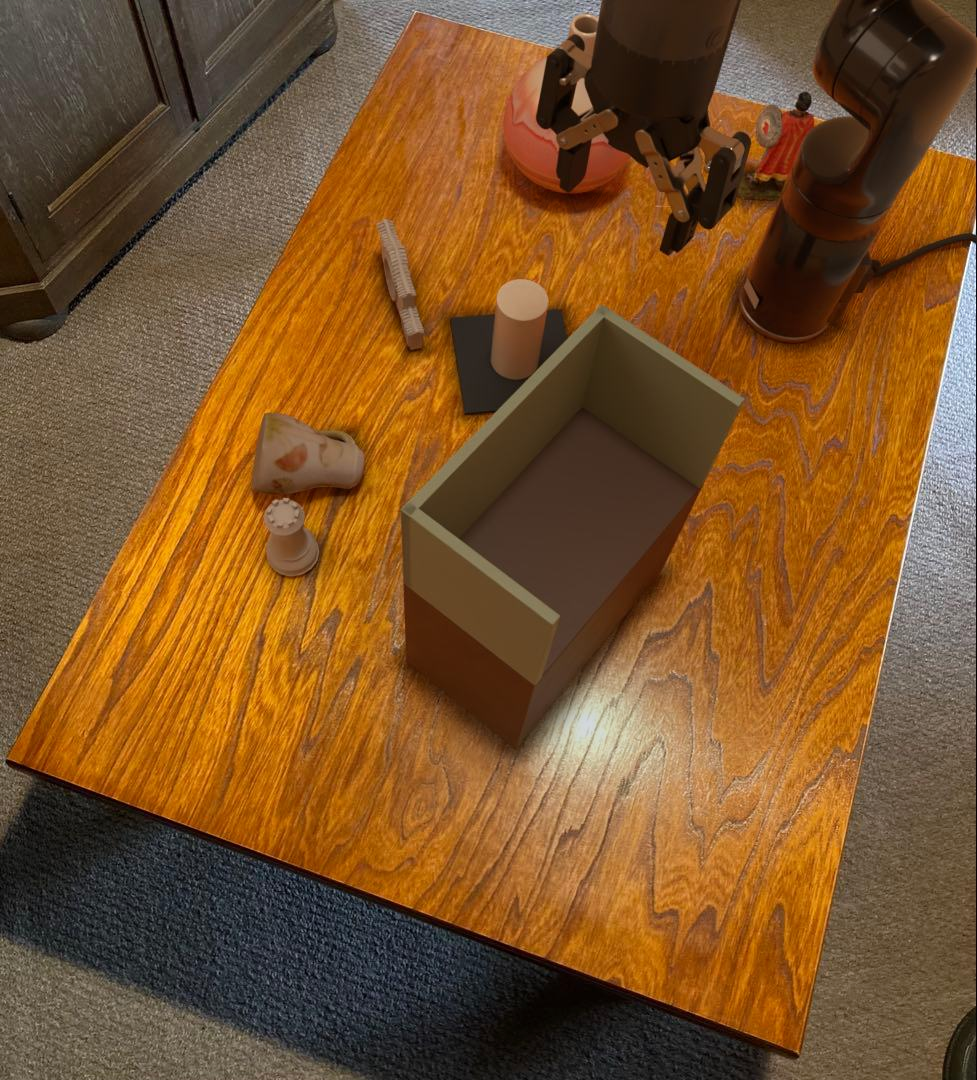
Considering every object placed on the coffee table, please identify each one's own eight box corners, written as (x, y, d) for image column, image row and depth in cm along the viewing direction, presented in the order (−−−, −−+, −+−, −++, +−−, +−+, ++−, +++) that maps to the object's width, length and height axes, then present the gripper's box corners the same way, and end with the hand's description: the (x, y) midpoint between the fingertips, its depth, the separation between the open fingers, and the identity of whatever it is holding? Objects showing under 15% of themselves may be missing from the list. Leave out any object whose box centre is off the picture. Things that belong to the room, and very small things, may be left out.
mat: (561, 311, 106) (561, 308, 105) (580, 405, 101) (581, 402, 101) (449, 319, 104) (450, 317, 104) (464, 415, 100) (464, 413, 99)
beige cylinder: (534, 338, 104) (544, 276, 96) (542, 377, 102) (552, 318, 94) (487, 342, 103) (493, 280, 95) (494, 382, 101) (500, 322, 93)
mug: (373, 511, 95) (309, 480, 86) (283, 513, 99) (213, 484, 90) (383, 430, 97) (320, 392, 88) (293, 436, 101) (225, 400, 92)
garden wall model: (425, 350, 103) (425, 311, 97) (407, 353, 102) (406, 314, 97) (395, 254, 108) (393, 212, 102) (377, 257, 107) (375, 215, 102)
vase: (492, 124, 116) (504, -25, 101) (616, 119, 118) (647, -28, 102) (507, 221, 110) (522, 79, 95) (638, 215, 112) (673, 74, 96)
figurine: (803, 172, 116) (843, 80, 105) (802, 209, 113) (842, 119, 103) (725, 160, 116) (756, 67, 105) (722, 196, 114) (754, 105, 103)
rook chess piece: (327, 541, 93) (320, 497, 86) (307, 585, 91) (297, 544, 84) (280, 525, 94) (268, 479, 87) (258, 568, 92) (244, 526, 85)
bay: (661, 571, 94) (745, 398, 70) (515, 749, 86) (552, 625, 62) (556, 495, 97) (601, 303, 72) (405, 661, 89) (400, 509, 65)
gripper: (811, 34, 60) (735, 236, 74) (604, -80, 63) (571, 135, 78) (738, 107, 57) (674, 302, 72) (526, -17, 60) (506, 194, 75)
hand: (620, 214), depth 75 cm, fingers open, 8 cm apart
